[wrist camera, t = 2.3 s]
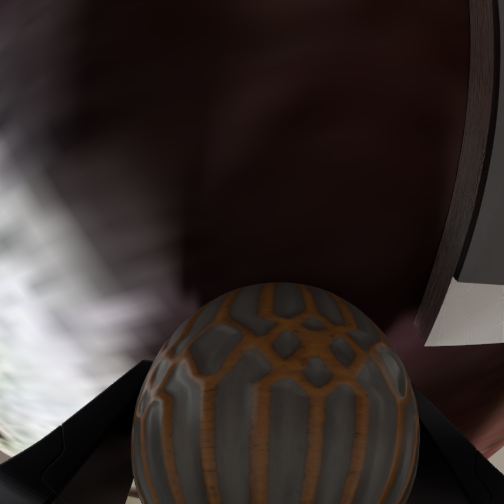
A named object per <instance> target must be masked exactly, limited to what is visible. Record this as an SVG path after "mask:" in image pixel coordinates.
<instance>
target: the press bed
mask: <svg viewBox="0 0 504 504" xmlns="http://www.w3.org/2000/svg"><path fill="white" fill-rule="evenodd" d="M469 5H470V33H471V47H470V77H469V91H468V103H467V113H466V121H465V129H464V136H463V143H462V149H461V155H460V161H459V167H458V172H457V177H456V182H455V187H454V192H453V196H452V200H451V205H450V209H449V213H448V217H447V221H446V225H445V229H444V232H443V236H442V239H441V243H440V246H439V250H438V253H437V256H436V260H435V263H434V266H433V269H432V272H431V275H430V278H429V281H428V284H427V287H426V290H425V293H424V295H423V298H422V301H421V304H420V306H419V309H418V312H417V314H416V317H415V319H414V322H413V324H414V326H415V328H416V330H417V332H418V334H419V336H420V338H421V340H422V342H423V345H424V346H450V345H473V344H490V343H504V0H469Z"/></svg>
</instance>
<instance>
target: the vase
mask: <svg viewBox="0 0 504 504" xmlns="http://www.w3.org/2000/svg"><path fill="white" fill-rule="evenodd" d="M419 444H420V424H419V416H418V409H417V402H416V399H415V395H414V392H413V389H412V385H411V382H410V380H409V377H408V375H407V372H406V370H405V368H404V366H403V364H402V362H401V360H400V358H399V356H398V354H397V352H396V350H395V348H394V347H393V345H392V344H391V342H390V341H389V340H388V338H387V337H386V336H385V335H384V333H383V332H382V331H381V330H380V328H379V327H378V326H377V325H376V324H375V323H374V322H373V321H372V320H371V319H370V318H369V317H367V316H366V315H365V314H364V313H363V312H362V311H361V310H359V309H358V308H357V307H355V306H354V305H352V304H351V303H349V302H348V301H346V300H344V299H342V298H341V297H339V296H337V295H335V294H333V293H331V292H328V291H326V290H323V289H320V288H317V287H313V286H309V285H304V284H297V283H286V282H272V283H261V284H254V285H250V286H245V287H242V288H238V289H235V290H233V291H230V292H228V293H225V294H223V295H221V296H219V297H218V298H216V299H214V300H212V301H210V302H209V303H207V304H205V305H204V306H202V307H201V308H199V309H198V310H197V311H196V312H194V313H193V314H192V315H191V316H190V317H189V318H187V319H186V320H185V321H184V322H183V323H182V324H181V325H180V326H179V327H178V328H177V329H176V330H175V332H174V333H173V334H172V335H171V336H170V338H169V339H168V340H167V341H166V342H165V344H164V345H163V347H162V348H161V350H160V351H159V353H158V355H157V357H156V358H155V360H154V362H153V364H152V366H151V368H150V370H149V372H148V374H147V376H146V378H145V380H144V383H143V385H142V388H141V391H140V393H139V396H138V399H137V403H136V407H135V412H134V417H133V425H132V435H131V458H132V470H133V476H134V481H135V486H136V489H137V492H138V495H139V498H140V500H141V503H142V504H406V502H407V499H408V497H409V495H410V492H411V490H412V487H413V483H414V479H415V476H416V471H417V465H418V458H419Z"/></svg>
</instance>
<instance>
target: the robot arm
mask: <svg viewBox="0 0 504 504" xmlns="http://www.w3.org/2000/svg"><path fill="white" fill-rule="evenodd" d="M153 362H154V361H150V360H142V361H140V362H139V363H138V364H137V365H135V366H134V367H133V368H132V369H130V370H129V371H128V372H127V373H125V374H124V375H123V376H122V377H120V378H119V379H118V380H117V381H115V382H114V383H113V384H112V385H110V386H109V387H108V388H107V389H105V390H104V391H103V392H102V393H100V394H99V395H98V396H97V397H95V398H94V399H93V400H92V401H90V402H89V403H88V404H86V405H85V406H84V407H83V408H81V409H80V410H79V411H78V412H76V413H75V414H74V415H73V416H71V417H70V418H69V419H67V420H66V421H65V422H64V423H62V426H61V425H60V426H58V427H57V428H56V429H55V430H53V431H52V432H51V433H49V434H48V435H47V436H45V437H44V438H42V439H41V440H40V441H38V442H37V443H35V444H33V445H32V446H30V447H29V448H27V449H26V450H24V451H22V452H20V453H19V454H17V455H15V456H14V457H12V458H10V459H8V460H7V461H5V462H3V463H1V464H0V504H125V503H126V500H127V497H128V494H129V491H130V488H131V485H132V482H133V479H134V476H133V470H132V458H131V435H132V425H133V417H134V412H135V407H136V403H137V399H138V396H139V393H140V391H141V388H142V385H143V383H144V380H145V378H146V376H147V374H148V372H149V370H150V368H151V366H152V364H153ZM410 382H411V381H410ZM411 385H412V389H413V392H414V395H415V399H416V402H417V409H418V416H419V424H420V444H419V458H418V465H417V471H416V476H415V479H414V483H413V487H412V490H411V492H410V495H409V497H408V499H407V502H406V504H504V475H503V474H502V473H501V472H500V471H499V470H498V469H497V468H495V467H494V466H493V465H492V464H491V463H490V462H489V461H488V460H487V459H486V458H485V457H484V456H483V455H482V454H481V453H480V452H479V451H478V450H476V448H475V447H474V446H473V444H472V443H471V442H470V441H469V440H468V439H467V438H466V437H465V436H464V435H463V434H462V433H461V432H460V431H459V430H458V429H457V428H456V427H455V426H454V425H453V424H452V423H451V422H450V421H449V420H448V419H447V418H446V417H445V416H444V415H443V414H442V413H441V412H440V411H439V410H438V409H437V408H436V407H435V406H434V405H433V404H432V403H431V402H430V401H429V399H428V398H427V397H426V396H425V395H424V394H423V393H422V392H421V391H420V390H419V389H418V388H417V387H416V386H415V385H414V384H413V383H412V382H411Z"/></svg>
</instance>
